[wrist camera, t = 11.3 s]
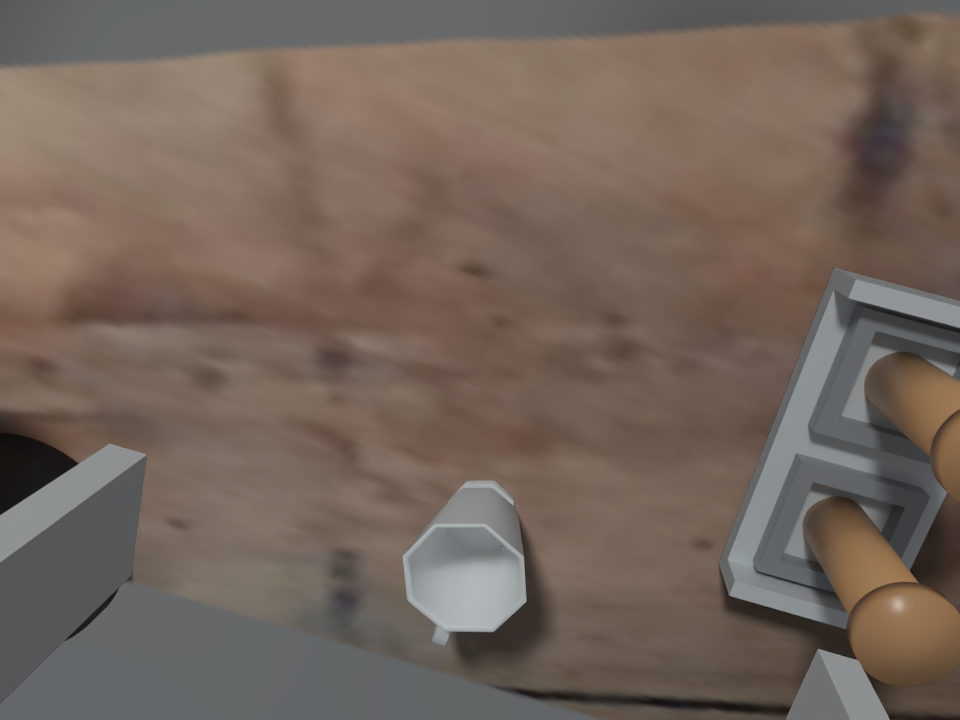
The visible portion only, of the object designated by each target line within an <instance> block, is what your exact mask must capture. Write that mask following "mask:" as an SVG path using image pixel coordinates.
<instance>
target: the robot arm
mask: <svg viewBox="0 0 960 720" xmlns="http://www.w3.org/2000/svg"><path fill="white" fill-rule="evenodd" d="M146 459H147V454H143V453H140V452H136V451H133V450H129V449H126V448H122V447H119V446H115V445H112V444H109V445H107V446H106V447H104V448H103V449H101V450H99V451H98V452H96V453H95V454H93V455H92V456H90V457H89V458H87V459H86V460H84V461H83V462H81V463H80V464H78V463H76V462H75V461H74V460H72V459H71V458H70V457H68V456H67V455H65V454H64V453H62V452H61V451H59V450H57V449H55V448H53V447H51V446H49V445H47V444H45V443H42V442H40V441H37V440H34V439H31V438H28V437H24V436H19V435H14V434H2V433H0V703H1V702H2V701H3V700H4V699H5V698H6V697H7V696H8V695H9V694H10V693H11V692H12V691H13V690H15V689H16V688H17V687H18V686H19V684H21V682H23V681H24V680H25V679H26V678H27V677H28V676H29V675H30V674H31V673H32V672H33V671H34V670H35V669H36V668H37V667H38V666H39V665H40V664H41V663H42V662H43V661H44V660H45V659H46V658H47V657H48V656H49V655H50V654H51V653H52V652H53V651H54V650H55V649H56V648H58V646H59V645H60V644H62V642H64V641H66V640H68V639H70V638H71V637H73V636H75V635H76V634H77V633H79V632H80V631H82V630H83V629H84V628H85V627H87V626H88V625H89V624H90V623H91V622H92V621H93V620H94V619H95V618H96V617H97V616H98V615H99V614H100V613H101V612H102V611H103V610H104V609H105V608H106V607H107V606H108V605H109V603H110V602H111V601H112V599H113V598H114V596H115V594H116V593H117V591H118V589H119V587H120V586H121V585H122V584H123V583H124V582H125V581H126V580H127V579H128V578H129V577H130V576H131V575H132V567H133V559H134V552H135V544H136V536H137V528H138V521H139V513H140V505H141V497H142V490H143V482H144V474H145V466H146ZM786 720H890V719H889V717H888V715H887V713H886V712H885V710H884V708H883V706H882V704H881V702H880V700H879V698H878V696H877V694H876V693H875V691H874V689H873V687H872V685H871V683H870V681H869V679H868V677H867V675H866V673H865V672H864V670H863V668H862V666H861V664H860V662H859V661H858V660H855V659H851V658H848V657H844V656H841V655H838V654H834V653H831V652H827V651H824V650H820V649H817V652H816V654H815V656H814V658H813V660H812V663H811V665H810V667H809V669H808V671H807V674H806V676H805V678H804V680H803V683H802V685H801V687H800V689H799V691H798V694H797V696H796V698H795V700H794V702H793V705H792V707H791V709H790V711H789V713H788V716H787V718H786Z"/></svg>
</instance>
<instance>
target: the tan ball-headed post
mask: <svg viewBox="0 0 960 720" xmlns="http://www.w3.org/2000/svg"><path fill="white" fill-rule="evenodd" d="M864 391H865V395H866V397H867V399H868V401H869V403H870V404H871V405H872V406H873V407H874V408H875V409H877V410H878V411H879V412H880V413H881V414H882V415H883V416H884V417H885V418H887V419H888V420H889V421H890V422H891V423H892V424H893V425H894V426H896V427H897V428H898V429H899V430H900V431H901V432H902V433H903V434H905V435H906V436H907V437H908V438H909V439H910V440H911V441H912V442H914V443H915V444H916V445H917V446H918V447H919V448H920V449H921V450H922V451H924V452H925V453H926V454H927V455H928V456H929V457H930V464H931V468H932V472H933V474H934V477H935V478H936V480H937V481H938V483H939V484H940V485H941V486H942V488H943V489H944V490H946V491H947V492H948V493H949V494H950V495H951V496H952V497H953V498H954V499H955V500H956V501H957V502H959V503H960V381H959V380H958V379H956V378H954V377H953V376H951V375H950V374H948V373H946V372H945V371H943V370H941V369H940V368H938V367H937V366H935V365H933V364H932V363H930V362H929V361H927V360H925V359H924V358H922V357H921V356H919V355H917V354H914V353H910V352H895V353H891V354H888V355H885V356H883V357H882V358H880V359H879V360H877V361H876V362H875V363H874V364H873V365H872V366H871V368H870V369H869V371H868V372H867V374H866V377H865V381H864Z"/></svg>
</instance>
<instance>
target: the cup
mask: <svg viewBox="0 0 960 720" xmlns="http://www.w3.org/2000/svg"><path fill="white" fill-rule="evenodd" d="M403 563H404V573H405V582H406V592H407V600H408V601H409V602H410V603H411V604H412V605H414V606H415V607H416V608H417V609H418V610H420V611H421V612H422V613H423V614H424V615H426V616H427V617H428V618H429V619H430V620H432V621H433V622H434V623H435V624H436V627H435V630H434V633H433V637H432V641H431V642H432V643H435V644H437V645H440V646H443V647H444V646H445V644H446V642H447V640H448V637H449V634H450V632H451V631H455V632H494V631H495V630H496V629H497V628H498V627H499V626H501V625H502V624H503V623H504V622H505V621H506V620H507V619H508V618H509V617H510V616H511V615H513V614H514V613H515V612H516V611H517V610H518V609H519V608H520V607H521V606H522V605H523V604H525V603H526V602H527V601H526V584H525V568H524V554H523V546H522V540H521V533H520V524H519V518H518V516H517V513H516V511H515V507H514V498H513V497H512V496H511V495H510V494H509V493H508V492H506V491H505V490H504V489H503V488H502V487H501V486H499V485H498V484H497V483H496V482H495V481H467V482H466V483H465V484H464V485H463V486H462V487H461V488H460V489H459V490H458V491H457V492H456V493H455V494H454V495H453V496H452V497H451V498H450V499H449V502H448V503H447V504H446V505H445V506H444V507H443V508H442V509H441V510H440V511H439V512H438V513H437V514H436V515H435V516H434V517H433V518H432V519H431V520H430V521H429V523H428V524H427V525H426V527H425V528H424V529H423V531H422V532H421V533H420V535H419V536H418V537H417V539H416V540H415V541H414V542H413V544H412V545H411V546H410V547H409V549H408V550H407V551H406V553H405V554H404V555H403Z"/></svg>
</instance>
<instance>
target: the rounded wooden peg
mask: <svg viewBox="0 0 960 720" xmlns="http://www.w3.org/2000/svg"><path fill="white" fill-rule="evenodd" d="M802 528H803V533H804V536H805V538H806V540H807V541H808V543H809V545H810V547H811V549H812V550H813V552H814V554H815V556H816V558H817V560H818V561H819V563H820V565H821V567H822V569H823V570H824V572H825V574H826V576H827V578H828V579H829V581H830V583H831V585H832V587H833V589H834V590H835V592H836V594H837V596H838V598H839V599H840V601H841V603H842V605H843V607H844V608H845V610H846V612H847V614H848V616H849V617H848V621H847V628H846V632H847V638H848V642H849V644H850V647H851V649H852V650H853V652H854V654H855V656H856V658H857V660H858V661H859V662H860V664H861V666H862V668H863V669H864V670H865V671H866V672H867V673H868V674H869V675H871V676H872V677H874V678H875V679H877V680H879V681H881V682H883V683H886V684H889V685H893V686H899V687H917V686H923V685H927V684H930V683H933V682H935V681H938V680H940V679H942V678H943V677H945V676H946V675H948V674H949V673H951V672H952V671H953V670H954V669H955V668H956V667H957V666H958V664H959V663H960V614H959V613H958V611H957V610H956V609H955V608H954V606H953V605H952V604H951V602H950V601H949V600H948V599H947V598H946V597H945V596H944V595H943V594H942V593H940V592H939V591H937V590H936V589H934V588H932V587H930V586H927V585H924V584H920V583H918V581H917V580H916V579H915V577H914V576H913V575H912V573H911V572H910V571H909V569H908V568H907V567H906V565H905V564H904V563H903V561H902V560H901V559H900V557H899V556H898V555H897V553H896V552H895V551H894V549H893V548H892V547H891V545H890V544H889V543H888V541H887V540H886V539H885V537H884V536H883V535H882V533H881V532H880V531H879V529H878V528H877V527H876V525H875V524H874V523H873V521H872V520H871V519H870V517H869V516H868V515H867V513H866V512H865V511H864V509H863V508H862V507H861V506H860V505H859V504H858V503H857V502H855V501H853V500H851V499H849V498H845V497H839V496H836V497H828V498H824V499H822V500H820V501H818V502H816V503H815V504H813V505H812V506H811V507H810V508H809V509H808V511H807V512H806V514H805V516H804V519H803V523H802Z"/></svg>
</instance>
